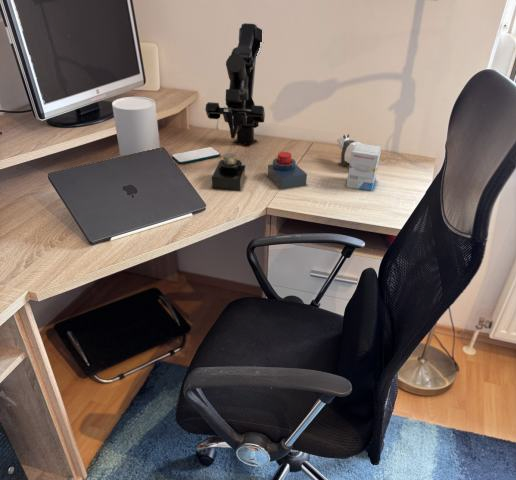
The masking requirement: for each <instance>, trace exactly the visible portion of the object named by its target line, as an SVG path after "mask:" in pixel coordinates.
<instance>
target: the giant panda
mask: <svg viewBox="0 0 516 480" xmlns="http://www.w3.org/2000/svg"><path fill="white" fill-rule="evenodd" d="M336 142H337V146H338V148H339V149H340V150H341V153H340V154H341V155H340V163H339V165H340V166H341V167H347V164H349V165H350V159H351V152H352V150H353V148H354V146H355V145H356V143H360V144H363V143H362V142H359V141H357V140H353V139H350V134H347V135H345V134H343V135H341V136H340V138H338V139H337V140H336Z"/></svg>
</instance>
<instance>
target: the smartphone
mask: <svg viewBox="0 0 516 480" xmlns="http://www.w3.org/2000/svg"><path fill="white" fill-rule="evenodd" d="M219 157H221V152H219V151H218V150H216V148H214V147H212V146H210V147H209V146H208V147H202V148H198V149H193V150H187V151H183V152H182V151H181V152H178V153H173V154H171V158H172V159H173V160H174V161H175V162H176V163H177V164H179V165H186V164H190V163H193V162H199V161H204V160H209V159H214V158H219Z"/></svg>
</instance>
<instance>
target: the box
mask: <svg viewBox="0 0 516 480" xmlns="http://www.w3.org/2000/svg"><path fill="white" fill-rule="evenodd" d="M296 163H297V162H296V160H295V159H294V158H291V163H290V164H287V165H284V164H279V163H278V157H276V158H274V159H273V160H272V163H271V164H267V178H269V179H270V180H271V181H272V182H273V183H274V184H275V185H276V187H278V188H279V189H280V190H288V189H293V188H299V187H300V188H301V187H305V186H307V181H308V180H307V179H308V173H306V172H305V171H304V170H303V169H302V168H300V166H299V165H297V164H296Z"/></svg>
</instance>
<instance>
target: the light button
mask: <svg viewBox="0 0 516 480" xmlns="http://www.w3.org/2000/svg"><path fill="white" fill-rule="evenodd" d="M222 160H223V163H224V165H226V166H235V165H237V160H238V154H236V153H233V152H227V153H224V154H223V157H222Z"/></svg>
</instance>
